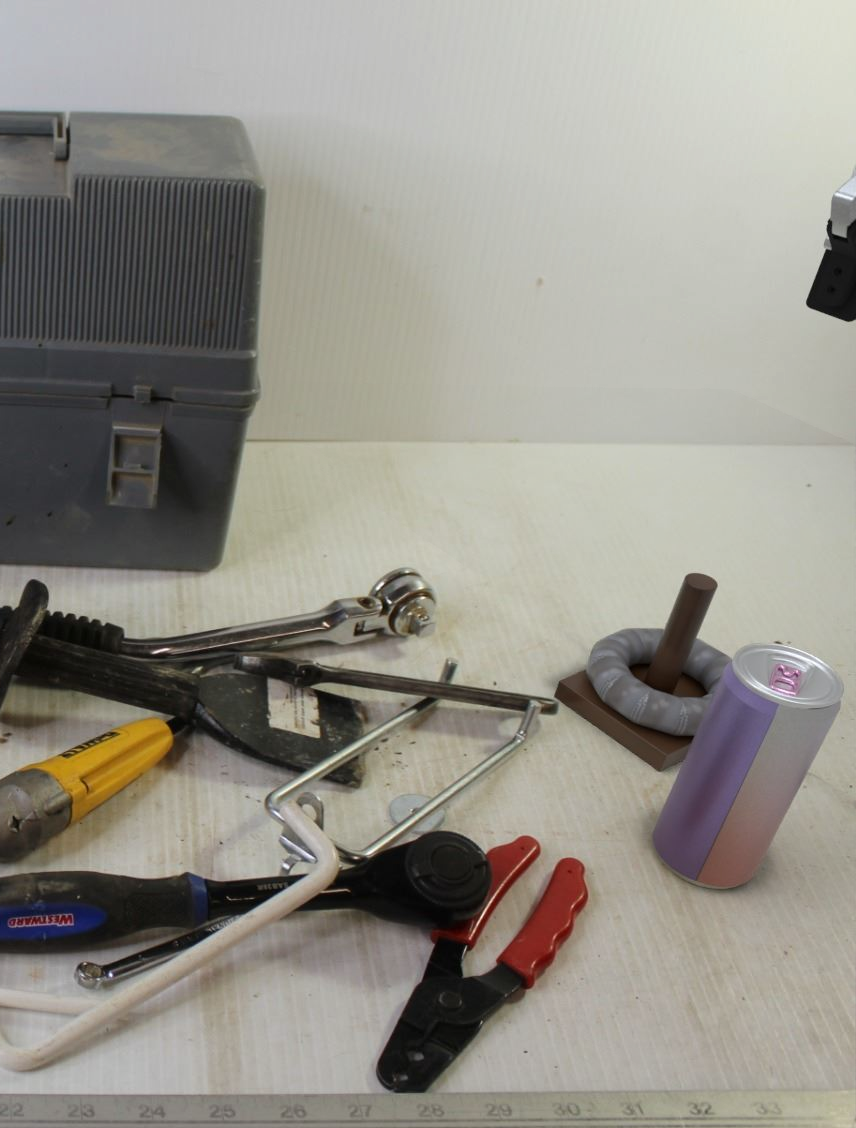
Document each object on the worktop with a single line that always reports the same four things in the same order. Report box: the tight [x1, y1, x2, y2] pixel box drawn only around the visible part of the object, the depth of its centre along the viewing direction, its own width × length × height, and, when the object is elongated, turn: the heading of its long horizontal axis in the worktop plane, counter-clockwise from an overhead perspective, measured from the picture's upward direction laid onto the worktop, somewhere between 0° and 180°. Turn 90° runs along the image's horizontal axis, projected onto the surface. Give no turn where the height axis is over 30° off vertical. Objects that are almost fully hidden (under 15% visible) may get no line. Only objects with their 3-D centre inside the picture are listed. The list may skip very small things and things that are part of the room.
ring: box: [585, 627, 733, 736], centre depth 93 cm, size 10×10×3 cm
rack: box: [553, 572, 719, 772], centre depth 91 cm, size 9×9×12 cm
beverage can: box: [651, 642, 845, 890], centre depth 79 cm, size 6×6×15 cm
